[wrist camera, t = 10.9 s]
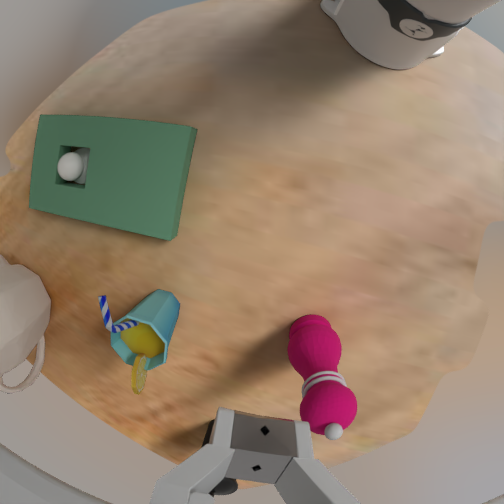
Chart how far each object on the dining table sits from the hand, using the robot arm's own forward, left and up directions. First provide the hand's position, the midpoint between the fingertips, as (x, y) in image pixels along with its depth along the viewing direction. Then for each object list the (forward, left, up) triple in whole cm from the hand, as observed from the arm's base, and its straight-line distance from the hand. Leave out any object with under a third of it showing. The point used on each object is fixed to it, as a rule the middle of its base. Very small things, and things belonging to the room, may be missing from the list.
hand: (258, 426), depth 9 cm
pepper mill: (+13, +10, -32) cm, 36 cm away
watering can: (+19, -39, -32) cm, 54 cm away
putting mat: (-4, -23, -31) cm, 39 cm away
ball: (-3, -28, -29) cm, 40 cm away
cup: (+13, -12, -32) cm, 36 cm away
